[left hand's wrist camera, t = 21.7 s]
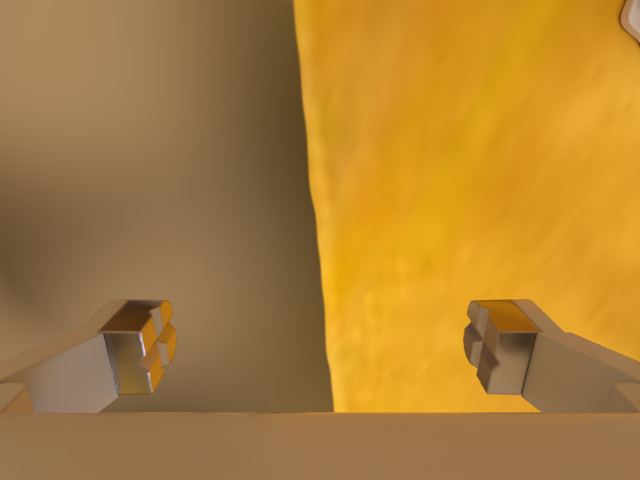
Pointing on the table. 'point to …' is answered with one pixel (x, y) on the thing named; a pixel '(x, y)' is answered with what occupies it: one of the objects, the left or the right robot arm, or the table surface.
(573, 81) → the table surface
